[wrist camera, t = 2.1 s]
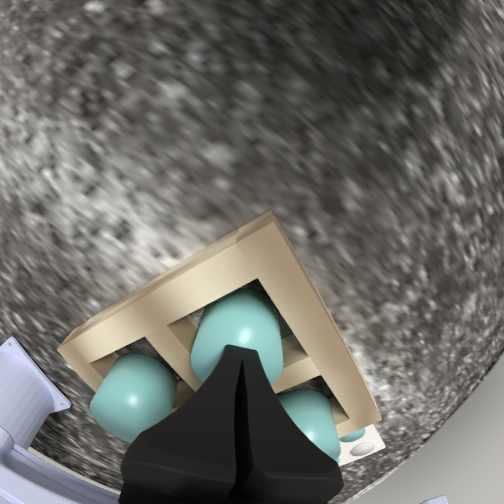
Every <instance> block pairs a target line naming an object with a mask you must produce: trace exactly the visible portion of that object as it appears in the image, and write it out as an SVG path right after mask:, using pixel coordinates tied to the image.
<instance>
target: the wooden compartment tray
mask: <svg viewBox="0 0 504 504" xmlns="http://www.w3.org/2000/svg"><path fill="white" fill-rule="evenodd" d="M256 278H258V279H259V281H260V282H261V284H262V285H263V287H264V289H265V290H266V292H267V293H268V295H269V296H270V298H271V299H272V301H273V302H274V304H275V305H276V307H277V309H278V310H279V312H280V313H281V315H282V316H283V318H284V319H285V321H286V322H287V324H288V325H289V327H290V328H291V330H292V331H293V333H294V334H292V335H290V336H287V337H285V338H283V339H281V344H282V354H283V369H282V372H281V374H280V376H279V378H278V379H277V380H276V382H274V383H273V384H272V385H271V386H272V388H273V390H274V392H275V394H276V393H278V392H281V391H283V390H286V389H288V388H291V387H293V386H296V385H298V384H300V383H303V382H305V381H307V380H310V379H312V378H314V377H316V376H319V375H322V377H323V378H324V380H325V382H326V383H327V385H328V386H329V388H330V389H331V391H332V392H333V394H334V395H335V396H334V397H332V398H329V401H330V404H331V408H332V412H333V416H334V421H335V425H336V429H337V434H338V438H341V437H344V436H346V435H348V434H351V433H353V432H356V431H358V430H360V429H362V428H365V427H367V426H369V425H371V424H373V423H376V422H378V421H380V420H382V418H381V415H380V413H379V410H378V408H377V405H376V402H375V400H374V397H373V395H372V393H371V391H370V389H369V387H368V385H367V383H366V381H365V379H364V377H363V375H362V373H361V371H360V369H359V367H358V365H357V363H356V361H355V359H354V357H353V355H352V354H351V352H350V350H349V348H348V346H347V344H346V342H345V340H344V338H343V337H342V335H341V333H340V331H339V329H338V327H337V325H336V323H335V322H334V320H333V318H332V316H331V314H330V312H329V311H328V309H327V307H326V305H325V303H324V301H323V300H322V298H321V296H320V294H319V292H318V291H317V289H316V287H315V285H314V283H313V282H312V280H311V278H310V276H309V274H308V273H307V271H306V269H305V267H304V266H303V264H302V262H301V260H300V259H299V257H298V255H297V253H296V252H295V250H294V248H293V246H292V245H291V243H290V241H289V239H288V238H287V236H286V234H285V233H284V231H283V229H282V227H281V226H280V224H279V222H278V221H277V219H276V217H275V216H274V214H273V212H272V211H271V210H269V211H267V212H265V213H264V214H262V215H260V216H259V217H257V218H255V219H253V220H252V221H250V222H248V223H246V224H245V225H243V226H241V227H240V228H238V229H236V230H234V231H233V232H231V233H229V234H228V235H226V236H224V237H222V238H221V239H219V240H217V241H216V242H214V243H212V244H211V245H209V246H207V247H206V248H204V249H202V250H200V251H199V252H197V253H195V254H194V255H192V256H190V257H189V258H187V259H185V260H184V261H182V262H180V263H179V264H177V265H176V266H174V267H172V268H171V269H169V270H167V271H166V272H164V273H162V274H161V275H159V276H157V277H156V278H154V279H153V280H151V281H149V282H148V283H146V284H144V285H143V286H141V287H140V288H138V289H136V290H135V291H133V292H132V293H130V294H128V295H127V296H125V297H124V298H122V299H120V300H119V301H117V302H116V303H114V304H112V305H111V306H109V307H108V308H106V309H105V310H103V311H101V312H100V313H98V314H97V315H95V316H94V317H92V318H90V319H89V320H87V321H86V322H84V323H83V324H81V325H80V326H78V327H77V328H75V329H74V330H73V331H72V332H71V333H70V335H69V336H68V337H67V338H66V339H65V340H64V342H63V343H62V344H61V345H60V346H59V347H58V349H57V350H58V352H59V353H60V354H61V355H62V356H63V358H64V359H65V360H66V361H67V362H68V363H69V364H70V366H71V367H72V368H73V369H74V370H75V371H76V372H77V373H78V374H79V376H80V377H81V378H82V379H83V380H84V381H85V382H86V383H87V384H88V385H89V386H90V387H91V388H92V389H93V390H94V391H95V392H97V391H98V389H99V387H100V385H101V384H102V382H103V380H104V379H105V377H106V375H107V373H108V372H109V370H110V368H111V367H112V365H113V363H114V362H115V360H116V359H117V358H118V357H119V356H118V355H117V353H116V352H115V351H116V350H118V349H120V348H122V347H124V346H126V345H128V344H130V343H132V342H134V341H136V340H138V339H140V338H142V337H144V336H145V337H146V339H147V340H148V341H149V342H150V343H151V344H152V346H153V347H154V348H155V349H156V350H157V351H158V352H159V354H160V355H161V356H162V357H163V358H164V359H165V360H166V361H167V362H168V364H169V365H170V366H171V367H172V368H173V369H174V370H175V371H176V372H177V373H178V374H179V375H180V376H181V378H182V379H183V380H184V381H181V382H178V383H177V392H176V396H175V399H174V402H173V405H172V409H171V412H170V414H171V413H173V412H174V411H175V410H177V409H178V408H179V407H180V406H181V405H182V404H184V403H185V402H186V401H187V400H188V399H189V398H190V397H191V396H192V395H193V394H194V393H195V392H196V391H197V390H198V389H199V388H200V387H201V385H202V384H203V382H202V381H201V380H200V379H199V378H198V377H197V375H196V374H195V372H194V370H193V368H192V365H191V352H192V349H193V346H194V342H195V339H196V336H197V333H198V330H199V326H198V325H197V324H196V322H195V321H194V320H193V319H192V317H191V316H190V315H189V314H190V313H192V312H194V311H195V310H197V309H199V308H201V307H203V306H205V305H207V304H209V303H211V302H213V301H215V300H217V299H219V298H220V297H222V296H224V295H226V294H228V293H230V292H232V291H234V290H236V289H238V288H239V287H241V286H243V285H245V284H247V283H249V282H251V281H253V280H254V279H256Z"/></svg>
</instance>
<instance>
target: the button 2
mask: <svg viewBox="0 0 504 504" xmlns="http://www.w3.org/2000/svg"><path fill="white" fill-rule="evenodd" d="M176 392H177V381H176V379H175V377H174V375H173V374H172V372H171V371H170V370H169V369H168V368H167V367H166V366H165V365H164V364H162V363H161V362H159V361H158V360H156V359H154V358H152V357H150V356H147V355H144V354H140V353H126V354H123V355H121V356H119V357H118V358H117V359H116V360H115V362H114V363H113V365H112V367H111V368H110V370H109V372H108V373H107V375H106V377H105V379H104V380H103V382H102V384H101V385H100V387H99V389H98V391H97V392H96V394H95V396H94V398H93V399H92V401H91V403H90V411H91V414H92V416H93V417H94V419H95V420H96V421H97V423H98V424H99V425H100V426H101V427H102V428H104V429H105V430H106V431H107V432H109V433H110V434H112V435H114V436H115V437H117V438H119V439H121V440H124V441H126V442H129V443H132V442H133V441H134V440H135V439H136V437H137V436H138V435H139V434H140V433H141V432H142V431H144V430H146V429H148V428H149V427H151V426H153V425H155V424H157V423H158V422H160V421H161V420H163V419H164V418H166V417H167V416H168V415H170V412H171V409H172V405H173V402H174V399H175V396H176Z"/></svg>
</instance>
